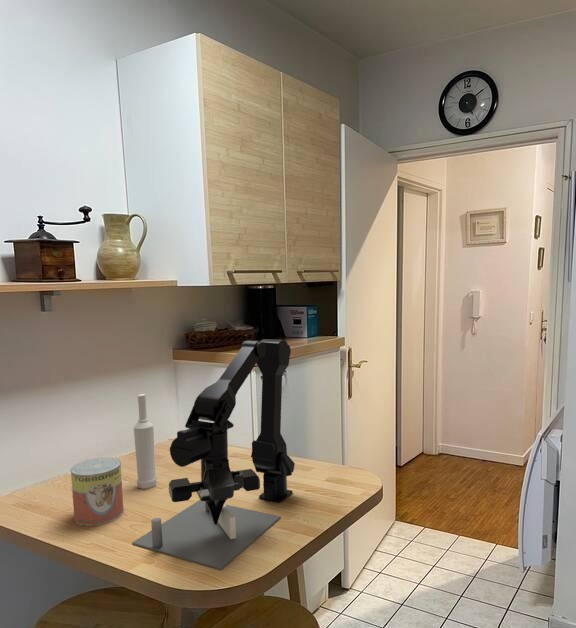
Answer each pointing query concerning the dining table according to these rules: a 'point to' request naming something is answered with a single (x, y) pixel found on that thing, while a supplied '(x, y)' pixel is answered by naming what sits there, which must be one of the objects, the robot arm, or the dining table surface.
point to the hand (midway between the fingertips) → (215, 523)
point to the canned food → (97, 491)
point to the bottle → (144, 447)
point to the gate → (226, 521)
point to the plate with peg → (205, 535)
